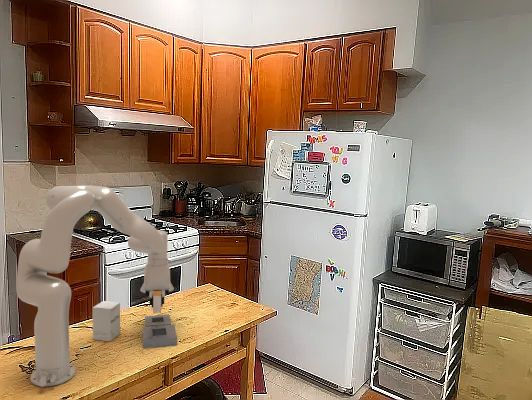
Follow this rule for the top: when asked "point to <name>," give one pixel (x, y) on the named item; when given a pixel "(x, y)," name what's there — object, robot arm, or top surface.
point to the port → (159, 336)
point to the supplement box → (106, 320)
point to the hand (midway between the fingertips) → (156, 305)
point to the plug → (156, 301)
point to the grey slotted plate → (157, 320)
